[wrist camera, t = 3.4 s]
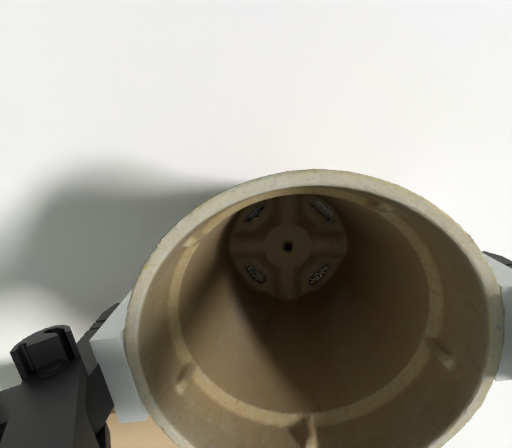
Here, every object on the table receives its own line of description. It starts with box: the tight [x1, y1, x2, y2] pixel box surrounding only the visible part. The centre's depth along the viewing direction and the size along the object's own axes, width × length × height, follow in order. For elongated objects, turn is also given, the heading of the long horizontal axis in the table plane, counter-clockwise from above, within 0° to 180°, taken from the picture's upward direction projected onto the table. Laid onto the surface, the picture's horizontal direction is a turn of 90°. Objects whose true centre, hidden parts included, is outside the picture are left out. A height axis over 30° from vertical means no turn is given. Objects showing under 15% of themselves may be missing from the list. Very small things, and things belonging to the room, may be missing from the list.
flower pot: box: [125, 169, 505, 448], centre depth 12 cm, size 9×9×9 cm
